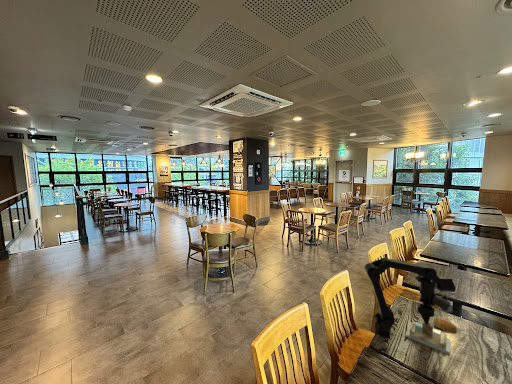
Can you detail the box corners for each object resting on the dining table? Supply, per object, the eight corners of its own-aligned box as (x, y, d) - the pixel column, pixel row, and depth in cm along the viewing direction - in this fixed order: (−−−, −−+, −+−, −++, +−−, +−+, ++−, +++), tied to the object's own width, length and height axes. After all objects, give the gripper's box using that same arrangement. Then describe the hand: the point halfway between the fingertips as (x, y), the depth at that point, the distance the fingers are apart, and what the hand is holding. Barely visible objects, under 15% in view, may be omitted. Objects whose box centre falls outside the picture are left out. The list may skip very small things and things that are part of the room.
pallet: (409, 334, 109) (409, 321, 109) (411, 327, 114) (411, 314, 113) (445, 348, 99) (445, 334, 99) (446, 340, 104) (446, 326, 104)
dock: (405, 339, 109) (405, 334, 109) (408, 328, 116) (408, 324, 116) (449, 357, 97) (449, 352, 97) (450, 344, 104) (450, 339, 104)
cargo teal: (415, 330, 109) (415, 324, 109) (415, 327, 111) (415, 321, 111) (422, 333, 107) (422, 327, 107) (423, 329, 109) (423, 324, 109)
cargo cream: (432, 337, 104) (432, 331, 104) (433, 333, 106) (433, 328, 106) (440, 340, 102) (440, 334, 102) (440, 336, 104) (440, 331, 104)
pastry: (455, 327, 116) (455, 320, 115) (457, 335, 110) (457, 328, 110) (433, 321, 121) (433, 314, 121) (434, 328, 116) (434, 321, 116)
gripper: (448, 304, 93) (448, 337, 94) (449, 287, 106) (449, 316, 107) (417, 295, 101) (417, 326, 102) (422, 280, 114) (422, 307, 115)
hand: (427, 319), depth 106 cm, fingers open, 9 cm apart
